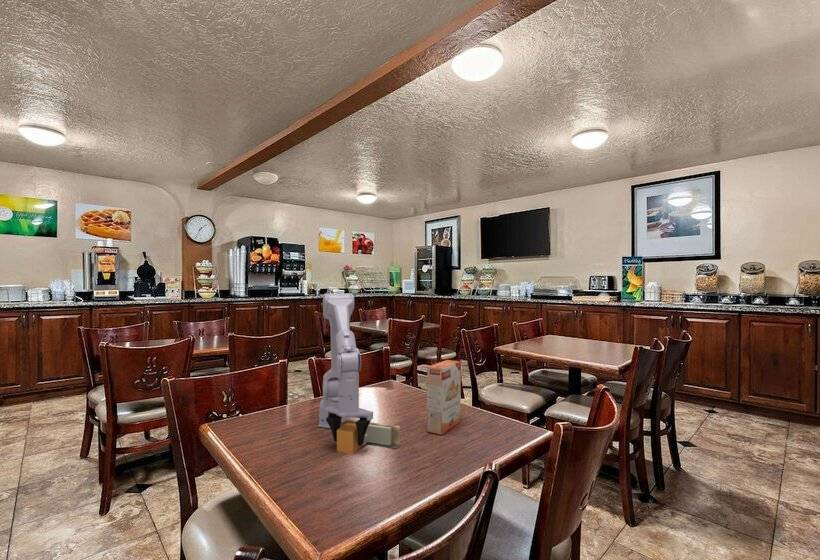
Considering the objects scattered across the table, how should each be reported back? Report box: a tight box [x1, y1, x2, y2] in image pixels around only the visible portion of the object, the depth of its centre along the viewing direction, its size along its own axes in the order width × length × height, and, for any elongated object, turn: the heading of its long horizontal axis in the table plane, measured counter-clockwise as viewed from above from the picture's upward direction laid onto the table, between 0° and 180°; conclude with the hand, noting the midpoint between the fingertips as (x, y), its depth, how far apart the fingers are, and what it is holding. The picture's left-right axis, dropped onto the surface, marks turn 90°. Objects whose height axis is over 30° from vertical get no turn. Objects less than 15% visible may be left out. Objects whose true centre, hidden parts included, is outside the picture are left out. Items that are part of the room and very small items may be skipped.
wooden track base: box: [340, 418, 401, 450], centre depth 113 cm, size 18×3×6 cm, turn 70°
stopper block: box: [336, 423, 363, 455], centre depth 110 cm, size 5×6×6 cm
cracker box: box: [426, 359, 462, 436], centre depth 125 cm, size 14×6×21 cm, turn 148°
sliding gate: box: [362, 424, 392, 446], centre depth 110 cm, size 8×4×5 cm, turn 70°
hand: (348, 442), depth 109 cm, fingers open, 7 cm apart
